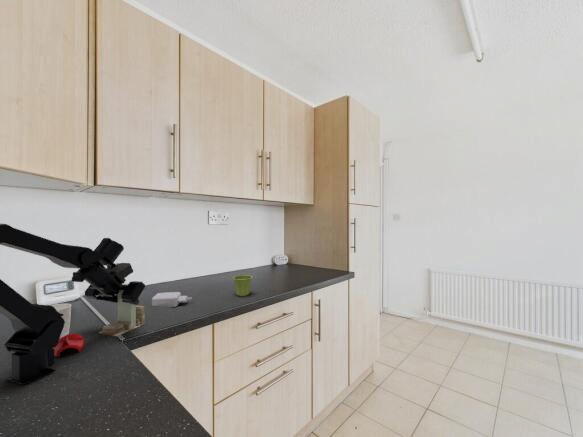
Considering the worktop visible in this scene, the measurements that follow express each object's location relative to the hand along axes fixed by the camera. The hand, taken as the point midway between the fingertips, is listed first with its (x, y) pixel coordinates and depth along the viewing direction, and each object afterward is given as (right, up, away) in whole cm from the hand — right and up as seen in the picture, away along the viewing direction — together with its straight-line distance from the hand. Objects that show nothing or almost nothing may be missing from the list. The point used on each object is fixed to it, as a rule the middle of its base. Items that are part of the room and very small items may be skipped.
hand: (130, 302), depth 90 cm
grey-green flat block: (0, -7, -1) cm, 7 cm away
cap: (-5, -9, -18) cm, 21 cm away
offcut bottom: (-2, -7, -6) cm, 10 cm away
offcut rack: (-1, -9, -3) cm, 9 cm away
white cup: (-18, -9, -9) cm, 22 cm away
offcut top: (-2, -6, -6) cm, 9 cm away
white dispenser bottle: (+3, -9, +25) cm, 27 cm away
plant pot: (+31, -9, +40) cm, 52 cm away
